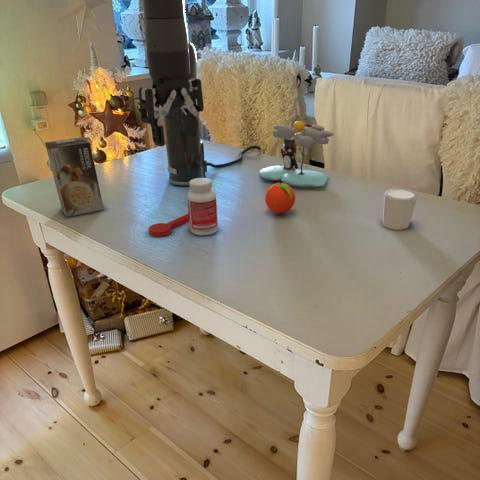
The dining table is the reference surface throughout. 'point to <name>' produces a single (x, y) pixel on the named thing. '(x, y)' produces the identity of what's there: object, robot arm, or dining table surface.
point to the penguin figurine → (288, 171)
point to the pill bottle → (202, 207)
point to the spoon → (167, 226)
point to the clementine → (280, 198)
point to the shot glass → (398, 208)
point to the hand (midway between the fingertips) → (176, 140)
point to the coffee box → (75, 176)
